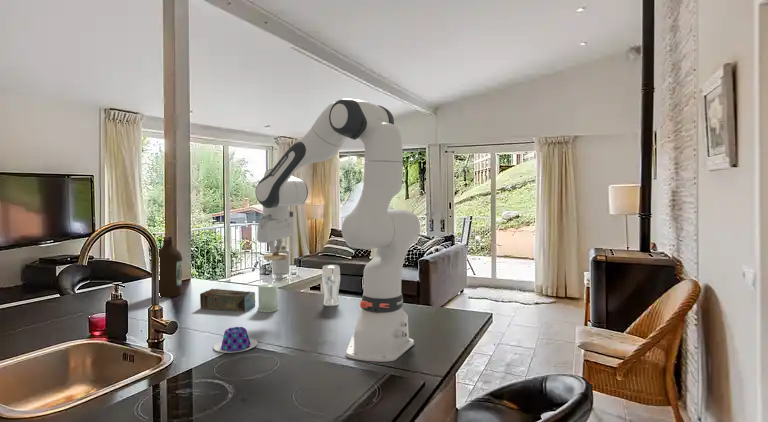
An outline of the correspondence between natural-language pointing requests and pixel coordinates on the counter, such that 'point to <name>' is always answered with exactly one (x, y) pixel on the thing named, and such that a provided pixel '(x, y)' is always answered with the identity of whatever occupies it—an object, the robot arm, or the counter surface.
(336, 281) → the beer glass
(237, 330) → the purple patterned hat
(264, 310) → the canister
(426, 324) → the counter surface
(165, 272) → the olive oil
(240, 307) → the beverage carton
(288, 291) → the counter surface
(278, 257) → the lid
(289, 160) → the robot arm
